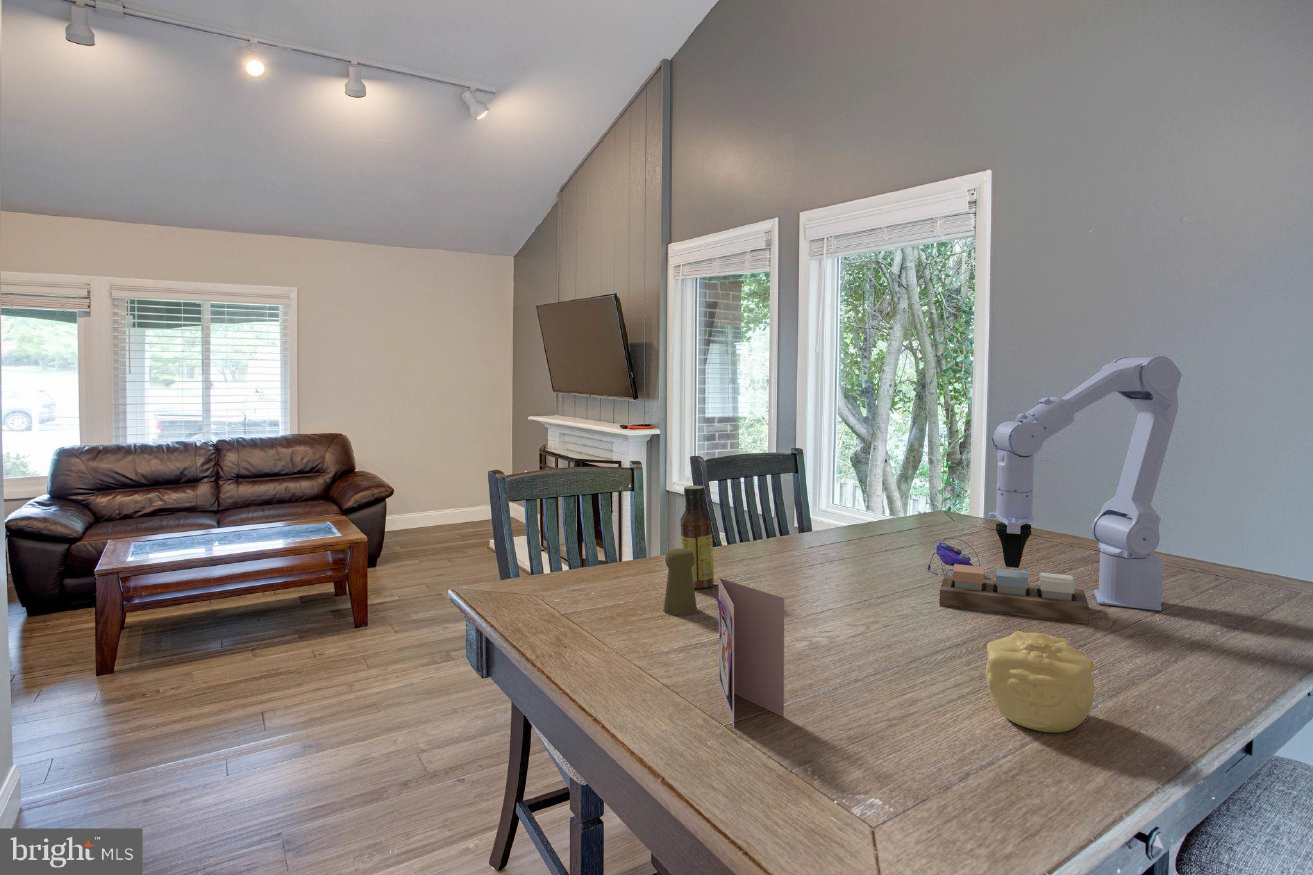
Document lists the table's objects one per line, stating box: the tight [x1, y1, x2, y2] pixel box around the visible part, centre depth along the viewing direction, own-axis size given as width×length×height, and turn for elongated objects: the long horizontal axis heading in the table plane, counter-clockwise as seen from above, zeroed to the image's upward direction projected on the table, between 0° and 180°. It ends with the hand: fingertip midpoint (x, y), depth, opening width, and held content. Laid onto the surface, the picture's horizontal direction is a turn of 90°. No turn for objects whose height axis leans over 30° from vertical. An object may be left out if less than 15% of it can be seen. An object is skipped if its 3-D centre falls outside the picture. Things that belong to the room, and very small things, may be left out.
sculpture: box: [985, 630, 1095, 734], centre depth 87 cm, size 12×12×11 cm
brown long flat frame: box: [938, 574, 1090, 625], centre depth 129 cm, size 23×10×3 cm, turn 64°
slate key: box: [995, 567, 1029, 596], centre depth 129 cm, size 5×5×3 cm
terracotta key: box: [952, 564, 986, 591], centre depth 132 cm, size 5×5×3 cm
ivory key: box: [1039, 572, 1075, 601], centre depth 126 cm, size 5×5×3 cm
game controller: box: [927, 537, 981, 576], centre depth 150 cm, size 10×8×10 cm
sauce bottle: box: [680, 484, 715, 590], centre depth 143 cm, size 7×6×20 cm
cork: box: [663, 547, 698, 617], centre depth 129 cm, size 6×6×11 cm
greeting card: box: [713, 577, 785, 728], centre depth 92 cm, size 11×7×15 cm, turn 4°
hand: (1012, 565), depth 128 cm, fingers closed
